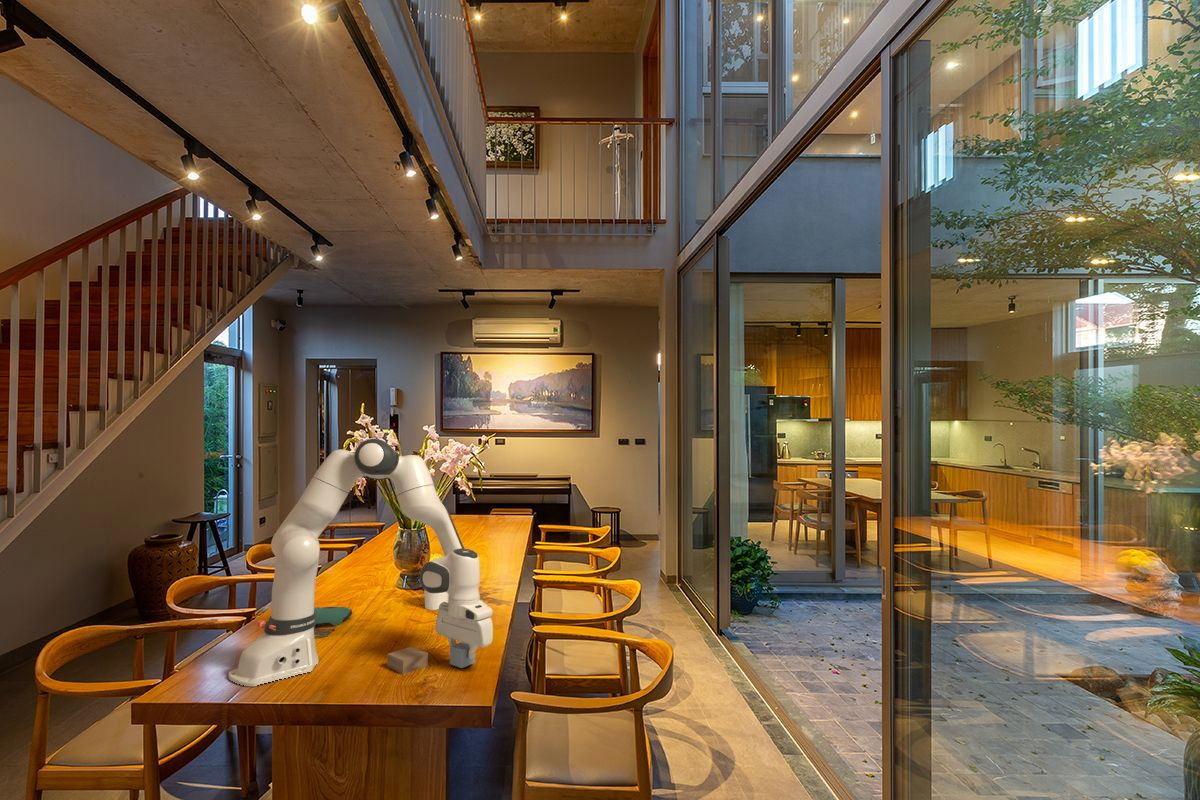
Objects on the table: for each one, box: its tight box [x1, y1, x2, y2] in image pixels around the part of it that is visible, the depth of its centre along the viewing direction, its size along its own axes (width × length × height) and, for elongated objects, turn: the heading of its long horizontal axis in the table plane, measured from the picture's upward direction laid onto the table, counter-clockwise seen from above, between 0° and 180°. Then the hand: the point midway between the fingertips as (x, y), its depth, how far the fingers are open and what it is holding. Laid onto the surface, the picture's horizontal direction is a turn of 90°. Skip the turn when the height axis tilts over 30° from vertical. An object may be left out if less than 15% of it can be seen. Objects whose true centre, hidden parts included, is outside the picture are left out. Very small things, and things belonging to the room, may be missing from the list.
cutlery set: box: [314, 606, 353, 638], centre depth 214 cm, size 20×30×2 cm, turn 6°
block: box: [449, 641, 476, 669], centre depth 179 cm, size 5×5×5 cm
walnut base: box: [386, 646, 429, 675], centre depth 178 cm, size 8×8×4 cm
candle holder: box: [423, 588, 449, 611], centre depth 236 cm, size 10×10×12 cm
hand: (462, 655), depth 179 cm, fingers closed on block, 5 cm apart
